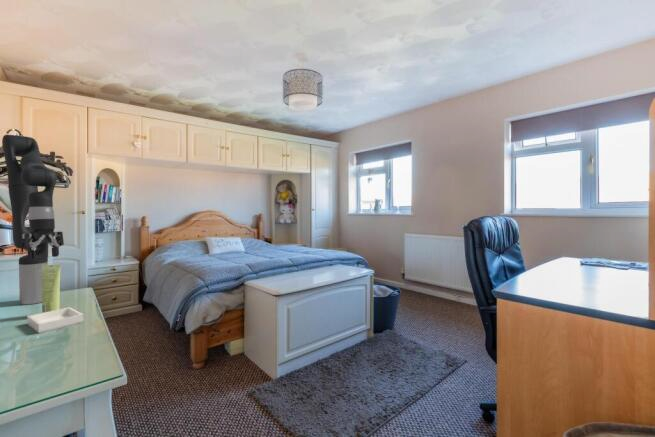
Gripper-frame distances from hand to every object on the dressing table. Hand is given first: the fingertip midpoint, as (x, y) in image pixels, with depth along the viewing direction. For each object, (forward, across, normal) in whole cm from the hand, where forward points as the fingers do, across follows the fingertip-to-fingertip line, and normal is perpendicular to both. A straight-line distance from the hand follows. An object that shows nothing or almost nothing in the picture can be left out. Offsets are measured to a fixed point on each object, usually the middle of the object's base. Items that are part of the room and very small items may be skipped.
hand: (44, 258), depth 123 cm
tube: (+22, +4, +8) cm, 23 cm away
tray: (+22, +12, +18) cm, 31 cm away
